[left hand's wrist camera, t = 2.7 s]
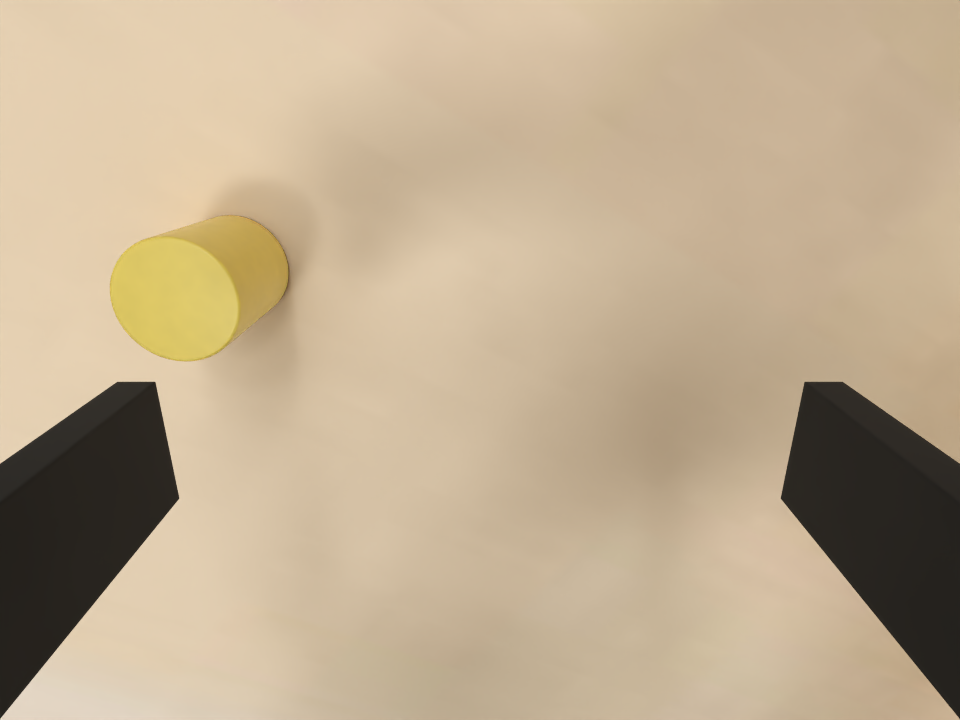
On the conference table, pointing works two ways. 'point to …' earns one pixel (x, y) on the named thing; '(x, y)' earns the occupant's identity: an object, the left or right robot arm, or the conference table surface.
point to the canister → (198, 286)
